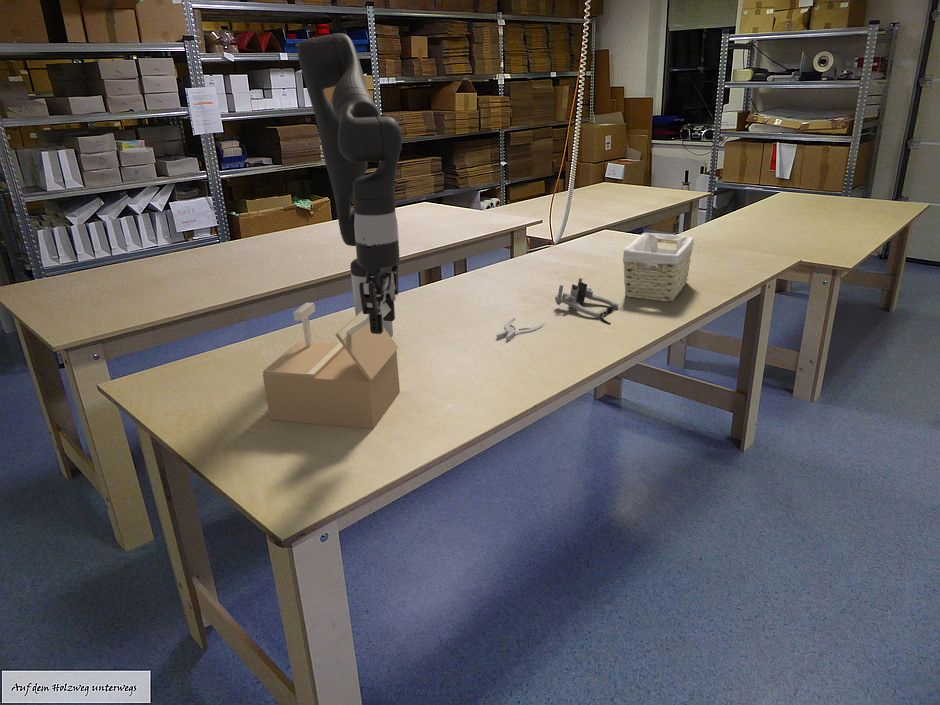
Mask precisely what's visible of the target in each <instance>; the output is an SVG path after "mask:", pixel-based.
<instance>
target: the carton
mask: <svg viewBox="0 0 940 705" xmlns="http://www.w3.org/2000/svg"><path fill="white" fill-rule="evenodd" d="M315 312H316V306H315V302H305V303H304V304H302V305H301V306H299V307H298V308H297V309H295V310H294V311H293V312H292V314H293V319H294V321H295V322H296V321H297V322H298V321H300V322H302V330H303V333H304V334H303V335H304V340H298V341H297V342H296V343H295V344H294V345H293V346H291V347H290V348H289V349H288V350H286V352H284V353H283V354H282V355H280V356H279V357H278V358H277V359H275V360H274V361H273V362H272V363H271V364H269V366H267V367H266V368H265V369H263V371H262V377H263V378H262V379H263V384H264V391H265V396H266V401H267V407H268V414H269V419H270V420H272V421H281V422H292V423H293V422H294V423H302V424H313V425H314V424H316V425H327V426H336V427H337V426H339V427H349V428H359V429H360V428H362V429H372V430H373V429H375V428H376V426H377V425H378V423H379V422H380V421H381V419H382V418H383V417H384V415H385V414H386V413H387V411H388V410H389V408H390V407H391V405H392V404H393V403H394V401H395V400H396V399H397V397H398V396H399V394H400V392H401V388H400V379H399V376H400V375H399V366H398V365H399V364H398V353H397V352H398V351H397V350H396V351H395V352H394V353H393V355H392V356H391V357H390V358H389V359H388V361H387V362H386V363H385V364H384V365H383V367H382V368H381V369H380V370H379V371H378V373H377V374H376V375H375V376H374V377H373V379H372V380H370V381H369V380H368V379H367V377H366V376H365V375H364V373H363V372H362V371H361V369H360V368H359V367H358V365H357V364H356V363H355V361H354V360H353V358H352V357H351V356H350V354H349V353H348V352H347V350H346V349H345V348H344V346H343V345H342V343H341V342H324V341H312V340H313V339H312V333H311V332H312V331H311V325H310V324H311V323H310V318H309V317H310V316H311V315H312V314H313V313H315Z"/></svg>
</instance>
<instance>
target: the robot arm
mask: <svg viewBox="0 0 940 705" xmlns="http://www.w3.org/2000/svg"><path fill="white" fill-rule="evenodd" d="M297 57H298V62H299V66H300V70H301V73H302V77H303V81H304V83H305V84H304V85H305V88H306V90H307V93H308V94H307V95H308V97H309V100H310V103H311V106H312V110H313V113H314V117H315V120H316V126H317V130H318V135H319V140H320V145H321V149H322V153H323V158H324V162H325V167H326V169H327V173H328V177H329V180H330V184H331V188H332V193H333V197H334V202H335V208H336V214H337V220H338V226H339V231H340V232H339V233H340V236H341V239H342V241H343V243H344V244H345V245H346V246H349V247H355V252H356V258H354V259H353V260H352V261H351V263H350V266H349V267H350V274H351V275H350V276H351V285H352V294H353V295H352V296H353V302H354V303H353V304H354V311H355V316H357V315H358V314H359V313H360V312H361V311H362V310H363V314H369V319H370V331H371V333H373V334H381V333H382V332H383V327H384V328H385V329H386V331H387V332H388V334H389V335H390V336H391V337H392V336H393V335H394V328H393V322H394V321H395V319H396V314H395V312H396V311H395V301H396V296H398V295H399V265H398V264H399V263H400V246H399V245H400V244H399V243H400V242H399V240H400V239H399V227H398V225H399V224H398V220H397V215H396V200H395V198H396V197H395V184H396V183H395V180H396V174H397V168H398V165H399V164H398V163H399V160H400V154H401V150H402V144H403V143H402V142H403V133H402V129H401V127H400V125H399V123H398V122H397V120H395V119H394V118H393V117H391V116H380V114H379V110H378V107H377V105H376V103H375V102H374V100H373V98H372V95H371V94H370V92H369V90H368V86H367V84H366V79H365V75H364V72H363V69H362V66H361V61H360V58H359V55H358V53H357V50H356V47H355V44H354V43H353V40H352V39H351V38H350V37H349V35H347V34H346V33H344V32H343V33H342V32H338V33H337V32H336V33H335V32H334V33H332V34H331V33H330V34H325V35H321V36H320V35H319V36H315V37H309V38H306V39H303V40H301V41H300V42H299V43H298V46H297ZM329 88H334V90H333V92H332V95H331V96H332V97H331V98H332V99H331V100H330V99H329V98H328V97H327V94H326V93H325V90H326V89H329ZM370 162H379V164H378V166H377V167H376V169H375V171H373V172H371V173H368V174H366V173H367V170H368V166H369V164H368V163H370ZM352 200H353V206H352V204H351V203H352ZM385 302H386V303H387V304H388V306H389V307H390V309H391V311H390V312H389V313H388V314H387V315H386V316H385V317H384V318H383V319H382V305H383V303H385Z"/></svg>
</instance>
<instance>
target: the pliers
mask: <svg viewBox="0 0 940 705" xmlns="http://www.w3.org/2000/svg"><path fill="white" fill-rule="evenodd" d="M514 319H515V320H516V318H515V317H513V318H510V319H508V321H506V322H505V324H504V329H505V331H504V330H502V331H500V332H499V333H497V334H496V339H497V340H500V338H501V339H503V338H505V336H506V338H505V339H506V342H509V341H511V340H512V339H513V338H515V336H518V335H520V334H521V335H522V334H527V333H531V332H532V333H533V332H535V331H537V329H538V330H539V329H541V328H543V327H544V326H545V325H546V324H545V322H541V323H540V324H538V325H536V326H533V327H520V328H518V330H517V331H516V326H515V325H514V324H512V323H513V322H514V321H515V320H514ZM513 320H514V321H513ZM512 321H513V322H512ZM511 322H512V323H511ZM544 324H545V325H544ZM543 325H544V326H543ZM512 326H513V327H512ZM523 329H525V330H523ZM502 337H503V338H502ZM510 339H511V340H510Z"/></svg>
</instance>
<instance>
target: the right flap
mask: <svg viewBox="0 0 940 705" xmlns="http://www.w3.org/2000/svg"><path fill="white" fill-rule="evenodd" d="M390 311H391V309H390V307H389V306H388V304H387V303H386V302H385V303H383V305H382V319H383V318H384V317H385V316H386V315H387V314H388V313H389V312H390ZM335 337H336V338H337V339H338V341H339V343H342V345H343V346H344V348H345V349H346V350H347V352H348V353H349V354H350V356H351V357H352V358H353V360H354V361H355V363H356V364H357V365H358V367H359V368H360V369H361V371H362V372H363V373H364V375H365V376H366V377H367V379H368V380H369V381H370V380H372V379H373V377H374V376H375V375H376V374H377V373H378V371H379V370H380V369H381V368H382V367H383V365H384V364H385V363H386V362H387V361H388V359H389V358H390V357H391V356H392V355H393V353H394V352H395V351H397V350H398V349H399V346H398V345H397V343H396V342H395V341H394V339H393V338H392V336H390V335H389V334H388V332H387V331H386V329H385V328H384V327H383V332H382V333H381V334H373V333H371V331H370V319H369V314H363V310H362V311H361V312H360V313H359V314H358V315H357V316H356V315H355V316H354V317H353V318H352V319H351V320H350V321H349V322H347V324H345V325H344V326H343V327H342V328H341V329H340V330H339V331H337V333H336V334H335Z"/></svg>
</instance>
